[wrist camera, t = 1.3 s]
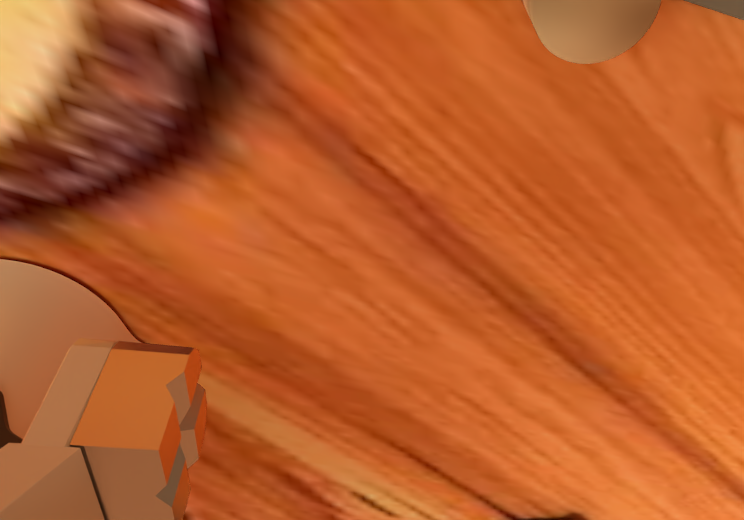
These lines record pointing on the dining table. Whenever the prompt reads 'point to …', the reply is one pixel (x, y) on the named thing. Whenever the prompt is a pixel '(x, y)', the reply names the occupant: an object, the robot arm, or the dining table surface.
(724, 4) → the felt mat
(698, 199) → the dining table surface
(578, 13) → the birch round
